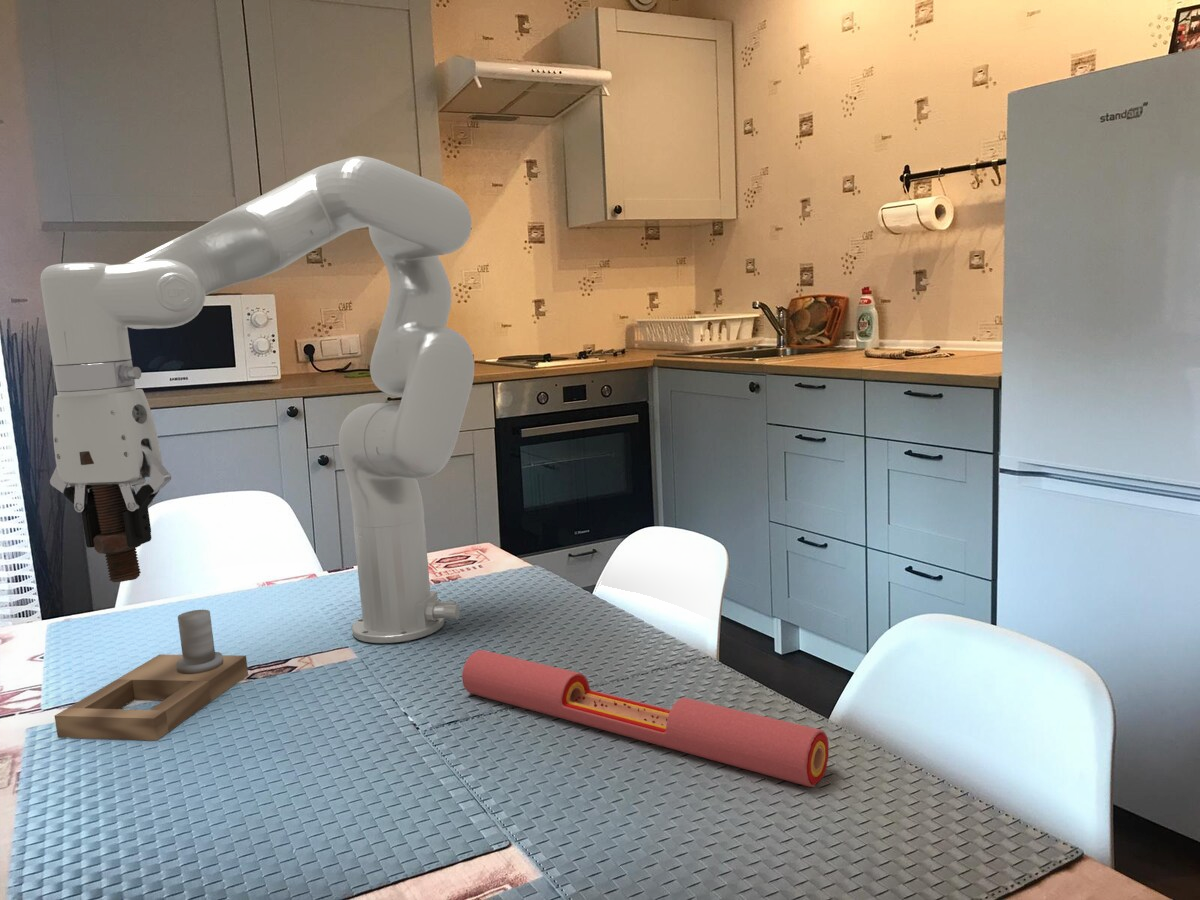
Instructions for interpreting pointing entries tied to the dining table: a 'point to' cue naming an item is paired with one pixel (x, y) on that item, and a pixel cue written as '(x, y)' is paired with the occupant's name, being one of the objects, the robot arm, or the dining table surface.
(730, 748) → the blood vessel
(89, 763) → the dining table surface
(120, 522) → the bolt
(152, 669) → the wooden peg holder
